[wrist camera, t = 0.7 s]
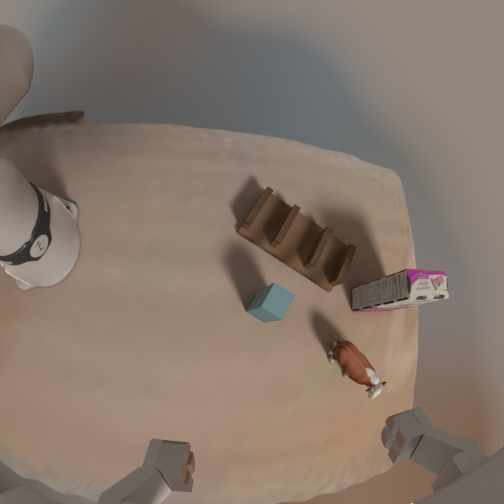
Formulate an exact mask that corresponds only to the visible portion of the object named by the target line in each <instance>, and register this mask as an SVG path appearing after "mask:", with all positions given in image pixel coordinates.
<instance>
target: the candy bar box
mask: <svg viewBox="0 0 504 504" xmlns="http://www.w3.org/2000/svg"><path fill="white" fill-rule="evenodd" d="M446 298H449V296H448V284H447V275H446V272H441V271H427V270H416V269H405V270H403V271H400V272H397V273H394V274H392V275H389V276H386V277H383V278H381V279H378V280H375V281H372V282H369V283H366V284H363V285H360V286H357V287H354V288H352V311H391V310H396V309H401V308H406V307H410V306H415V305H419V304H424V303H429V302H433V301H437V300H441V299H446Z"/></svg>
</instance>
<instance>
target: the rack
mask: <svg viewBox="0 0 504 504" xmlns="http://www.w3.org/2000/svg"><path fill="white" fill-rule="evenodd" d="M272 192H273V190H272V189H271V188H269V187H267V189H266V190H265V191H264V193H263V194H262V196H261V197H260V199H259V200H258V202H257V203H256V205H255V206H254V208H253V209H252V211H251V212H250V214H249V215H248V217H247V218H246V220H245V222H244V223H243V225H242V227H241V228H240V230H239V231H238V234H239V235H241V236H242V237H244V238H245V239H247V240H249V241H250V242H252V243H253V244H255V245H256V246H258V247H259V248H261V249H263V250H264V251H266V252H267V253H269V254H270V255H272V256H273V257H275V258H277V259H278V260H280V261H281V262H283V263H284V264H286V265H287V266H289V267H290V268H292V269H294V270H295V271H297V272H298V273H300V274H301V275H303V276H304V277H306V278H307V279H309V280H310V281H312V282H314V283H315V284H317V285H318V286H320V287H321V288H323V289H324V290H326V291H327V292H330V291H332V289H333V286H336V285H339V284H342V282H343V280H344V277H345V275H346V273H347V270H348V268H349V265H350V263H351V260H352V258H353V255H354V252H355V250H356V247H355V246H354V245H352V244H351V245H349V246H346V245H345V244H344V243H342V242H341V241H339V240H338V239H337V238H335V237H334V236H332V235H331V233H332V231H333V230H332V229H330V228H329V227H326V228H325V229H322V228H321V227H319V226H318V225H317V224H315V223H314V222H312V221H311V220H309V219H308V218H306V217H305V216H303V215H302V214H300V213H299V210H300V207H298V206H297V205H294V206H293V207H290V206H289V205H287V204H285V203H284V202H282V201H281V200H279V199H278V198H276V197H275V196H273V195H272V194H271V193H272Z"/></svg>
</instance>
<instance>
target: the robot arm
mask: <svg viewBox="0 0 504 504" xmlns="http://www.w3.org/2000/svg"><path fill="white" fill-rule="evenodd" d="M33 67H34V59H33V52H32V48H31V45H30V43H29V41H28V39H27V38H26V37H25V35H24V34H23V33H22V32H21V31H19V30H18V29H16V28H14V27H12V26H8V25H0V126H1V124H2V123H3V122H4V120H5V119H6V118H7V117H8V116H9V114H10V113H11V112H12V111H13V109H14V108H15V107H16V106H17V105H18V103H19V102H20V101H21V100H22V98H23V97H24V96H25V95H26V94H27V93H28V91H29V88H30V85H31V81H32V76H33ZM68 207H69V209H67V208H68ZM78 213H79V209H78V207H77V206H76V205H75V204H73V203H71V202H69V201H67V200H64V199H62V198H60V197H58V196H56V195H54V194H51V193H49V192H47V191H45V190H43V189H41V188H38V187H36V186H35V185H34V184H32V183H30V182H28V181H27V180H26V178H25V177H24V176H23V175H22V173H21V172H20V171H19V169H18V168H17V167H16V166H15V164H14V163H13V162H12V161H11V160H10V159H8V158H6V157H2V156H0V264H1V266H3V267H5V271H6V272H7V273H8V274H9V275H11V276H13V277H14V279H15V281H16V282H17V284H18V286H19V287H20V288H21V289H22V290H29V289H31V288H33V287H35V286H43V287H45V286H51V285H54V284H56V283H58V282H60V281H61V280H62V279H64V278H65V277H66V276H67V275H68V273H69V272H70V271H71V269H72V268H73V266H74V264H75V262H76V259H77V256H78V253H79V247H80V236H79V230H78V226H77V219H78ZM385 423H386V424H387V425H386V426H385V427H384V428H383V430H382V433H381V439H382V443H383V445H384V447H385V448H387V449H389V453H388V455H389V457H390V459H391V461H392V463H393V464H396V463H398V462H401V461H404V460H406V459H409V458H410V460H412V461H414V462H415V463H417V464H419V465H420V466H422V467H424V468H425V469H427V470H429V471H431V472H433V473H434V474H436V475H438V477H437V478H436V479H435V480H434V482H433V483H432V485H431V486H432V488H433V490H434V492H433V493H431V494H429V495H427V496H425V497H423V498H421V499H419V500H417V501H415V502H413V503H410V504H504V447H502V448H501V449H500V450H499V451H497V452H496V453H495V454H493V455H492V456H491V457H490V458H489V457H488V456H487V454H486V453H485V452H484V451H483V449H482V448H481V447H480V445H479V444H478V443H477V442H476V441H474V440H471V439H468V438H465V437H462V436H459V435H456V434H454V433H451V432H448V431H446V430H443V429H440V428H435V427H434V426H433V424H432V423H431V422H430V420H429V419H428V418H427V416H426V415H425V414H424V412H423V411H422V410H421V408H419V407H416V408H413V409H410V410H407V411H404V412H401V413H398V414H395V415H392V416H389V417H388V418H387V420H386V422H385ZM194 471H195V458H194V455H193V452H191V451H190V444H189V442H179V441H169V440H160V439H152V440H151V441H150V443H149V446H148V449H147V453H146V456H145V459H144V462H143V466H142V468H141V467H138V468H137V469H136V470H134V471H133V472H132V473H130V474H129V475H127V476H126V477H125V478H123V479H122V480H120V481H119V482H118V483H116V484H115V485H113V486H112V487H110V488H109V489H107V490H106V491H104V492H103V493H101V496H100V499H99V501H98V504H160V503H161V502H162V501H163V500H164V499H165V498H166V497H167V496H168V495H169V494H170V493H171V492H172V491H184V492H192V486H193V478H192V476H191V474H192V473H194ZM171 490H172V491H171ZM0 504H62V503H59V502H57V501H55V500H53V499H51V498H49V497H47V496H45V495H43V494H41V493H39V492H37V491H36V490H33V489H32V488H30V487H27V486H22V487H18V488H14V489H12V490H9V491H6V492H4V493H1V494H0Z"/></svg>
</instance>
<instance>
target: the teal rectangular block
mask: <svg viewBox="0 0 504 504" xmlns="http://www.w3.org/2000/svg"><path fill="white" fill-rule="evenodd" d="M294 296H295V295H294V294H292V293H290V292H289V291H287V290H286V289H284V288H282V287H281V286H279V285H278V284H276V283H273V284H271V285H269V286H267V287H266V288H264V289H262V290H260V291H258V292H257V294H256V296H255V297H254V299H253V301H252V302H251V304H250V306H249V308H248V309H247V311H246V312H247V313H249V314H251V315H252V316H254V317H256V318H257V319H259V320H261V321H263V322H269V321H277V320H282V319H283V318H284V316H285V314H286V312H287V310H288V308H289V306H290V304H291V302H292V300H293V298H294Z"/></svg>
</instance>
